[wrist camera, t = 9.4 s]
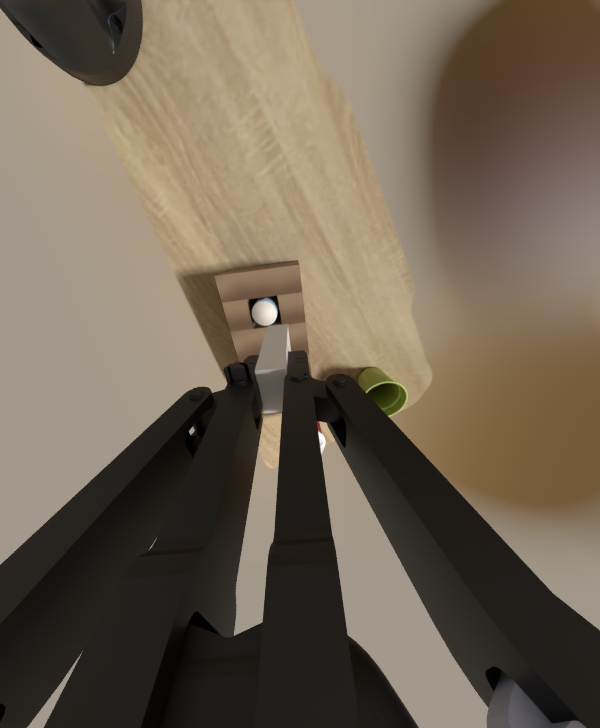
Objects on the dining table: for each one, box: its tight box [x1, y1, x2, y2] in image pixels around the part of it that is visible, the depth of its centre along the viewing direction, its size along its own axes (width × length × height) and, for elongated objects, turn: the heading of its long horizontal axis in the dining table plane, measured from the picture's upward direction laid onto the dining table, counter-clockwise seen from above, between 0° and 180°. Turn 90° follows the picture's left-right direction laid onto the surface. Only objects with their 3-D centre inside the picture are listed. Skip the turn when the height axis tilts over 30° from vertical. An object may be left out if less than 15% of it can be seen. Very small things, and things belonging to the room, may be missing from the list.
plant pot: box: [358, 367, 408, 417], centre depth 47 cm, size 9×9×9 cm
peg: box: [252, 296, 279, 326], centre depth 37 cm, size 4×4×10 cm
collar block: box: [214, 261, 312, 377], centre depth 40 cm, size 22×12×10 cm, turn 7°
